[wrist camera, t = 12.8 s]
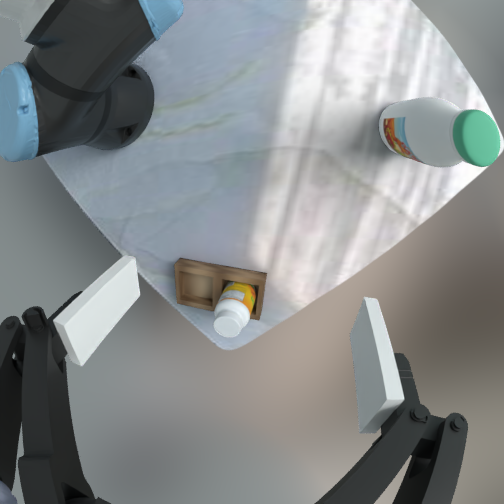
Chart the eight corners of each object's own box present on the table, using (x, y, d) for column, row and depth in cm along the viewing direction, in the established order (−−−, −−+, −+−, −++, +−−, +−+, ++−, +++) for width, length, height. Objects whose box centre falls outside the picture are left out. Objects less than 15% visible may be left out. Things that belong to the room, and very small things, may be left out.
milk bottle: (377, 98, 30) (444, 78, 13) (426, 107, 29) (513, 105, 11) (376, 152, 34) (441, 179, 16) (424, 158, 32) (508, 193, 15)
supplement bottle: (254, 306, 48) (243, 345, 39) (224, 300, 48) (207, 336, 40) (259, 280, 45) (247, 317, 37) (227, 274, 46) (209, 308, 37)
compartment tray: (182, 295, 50) (176, 303, 48) (180, 257, 47) (174, 264, 44) (261, 311, 48) (259, 320, 46) (266, 273, 45) (264, 281, 43)
